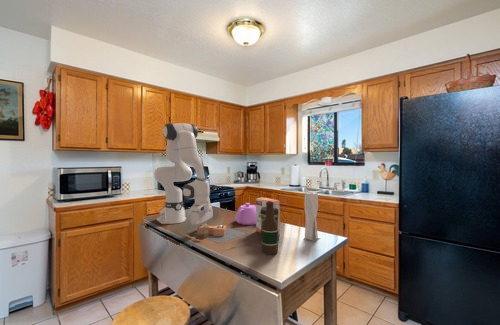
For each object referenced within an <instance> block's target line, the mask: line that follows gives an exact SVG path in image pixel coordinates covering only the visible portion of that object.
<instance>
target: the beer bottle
mask: <svg viewBox="0 0 500 325" xmlns="http://www.w3.org/2000/svg"><path fill="white" fill-rule="evenodd" d="M273 204H274V203H273V202H270V201H269V202H266V205H267V207H266V219H265V220H264V222H263V225H262V241H261V249H262V250H261V252H262V253H263V254H265V255H266V256H267V255H268V256H269V255H270V256H273V255H277V254H278V251H279V241H278V224H277V222H276V220H275V219H274V209H273Z"/></svg>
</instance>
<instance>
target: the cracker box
mask: <svg viewBox="0 0 500 325" xmlns="http://www.w3.org/2000/svg"><path fill="white" fill-rule="evenodd" d="M269 201H270V202H273V203H274V204H273V208H277V209H278V212H279V216H278V233H279V237H280V234H281V231H280V230H281V229H280V228H281V224H280V223H281V220H280V214H281V212H280V207H281V206H280V204H281V202H280V200H278V199H274V198H268V197H263V196H262V197H257V198H256V199H255V206H256V224H255V230H256V232H258V233H260V234H261V208H262V207H266V206H267V205H266V202H269Z"/></svg>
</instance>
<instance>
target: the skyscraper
mask: <svg viewBox="0 0 500 325" xmlns="http://www.w3.org/2000/svg"><path fill="white" fill-rule="evenodd" d="M303 200H304V203H303V204H304V214H305V215H304V216H305V227H304V238H303V241H308V242H312V243H317V242H318V241H319V240H321V238H320V237H319V234H318V224H317V216H318V215H317V214H318V209H319V195H318V191H315V190H314V191H311V190H308V189H307V188H304V199H303Z"/></svg>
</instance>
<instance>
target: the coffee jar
mask: <svg viewBox="0 0 500 325" xmlns="http://www.w3.org/2000/svg"><path fill="white" fill-rule="evenodd" d="M266 207H267V206H266ZM266 207H262V208H261V233H260V241H261V242H262V225H263V222H264V220H265V219H266ZM273 209H274V219H275V220H276V222H277V224H278V216H279V212H278V209H277V208H273ZM278 242H280V236H279V233H278Z"/></svg>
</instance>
